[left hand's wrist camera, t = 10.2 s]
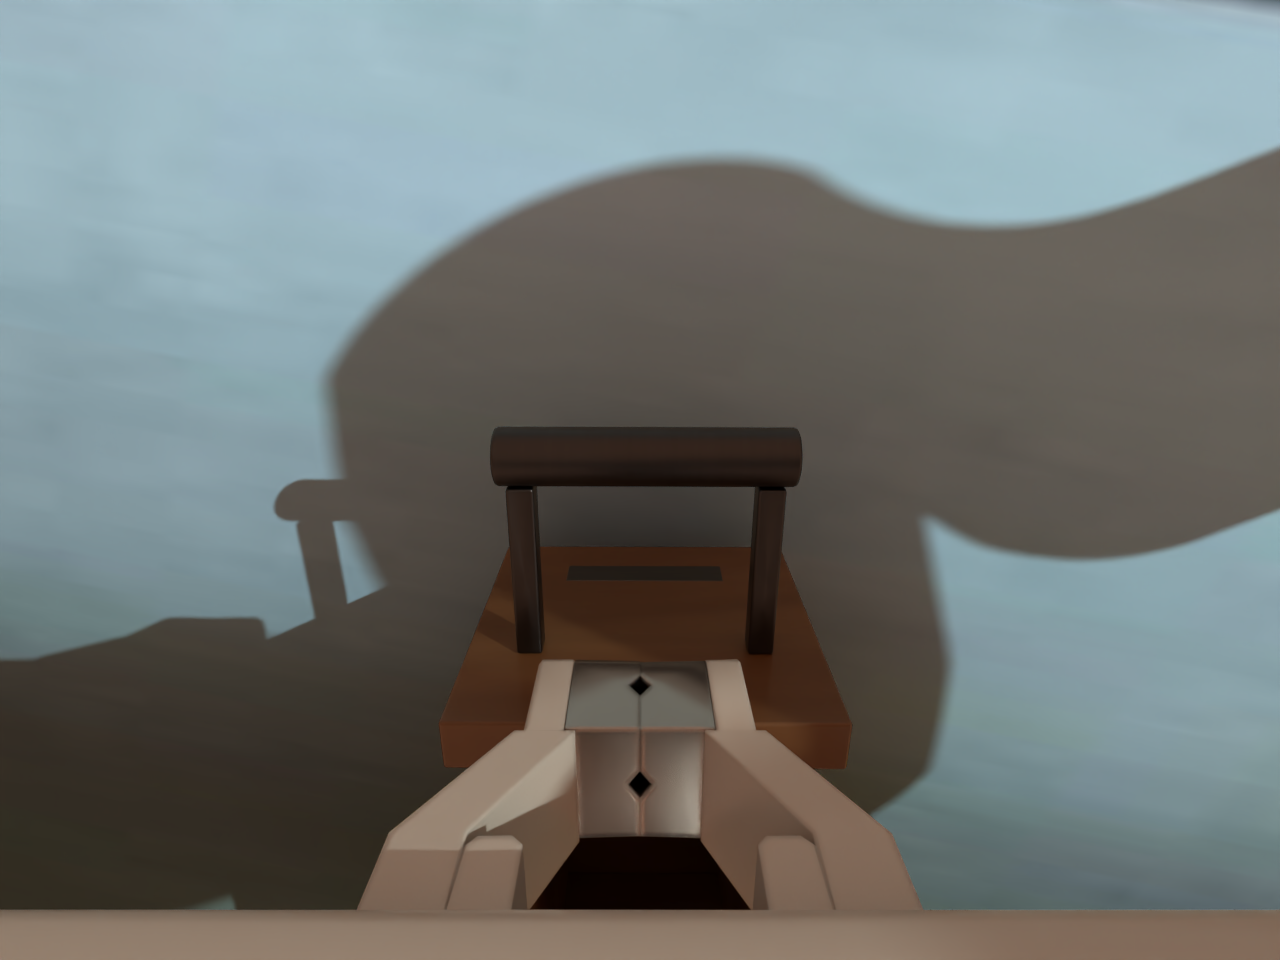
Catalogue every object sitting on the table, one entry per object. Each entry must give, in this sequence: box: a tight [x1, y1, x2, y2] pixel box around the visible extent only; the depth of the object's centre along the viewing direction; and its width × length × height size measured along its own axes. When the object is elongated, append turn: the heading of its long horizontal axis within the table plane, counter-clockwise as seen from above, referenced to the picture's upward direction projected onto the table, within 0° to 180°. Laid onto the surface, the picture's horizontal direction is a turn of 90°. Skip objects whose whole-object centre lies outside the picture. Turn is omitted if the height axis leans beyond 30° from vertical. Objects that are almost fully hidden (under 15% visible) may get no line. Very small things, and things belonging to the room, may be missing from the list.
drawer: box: [439, 427, 852, 910], centre depth 19 cm, size 19×8×8 cm, turn 0°
